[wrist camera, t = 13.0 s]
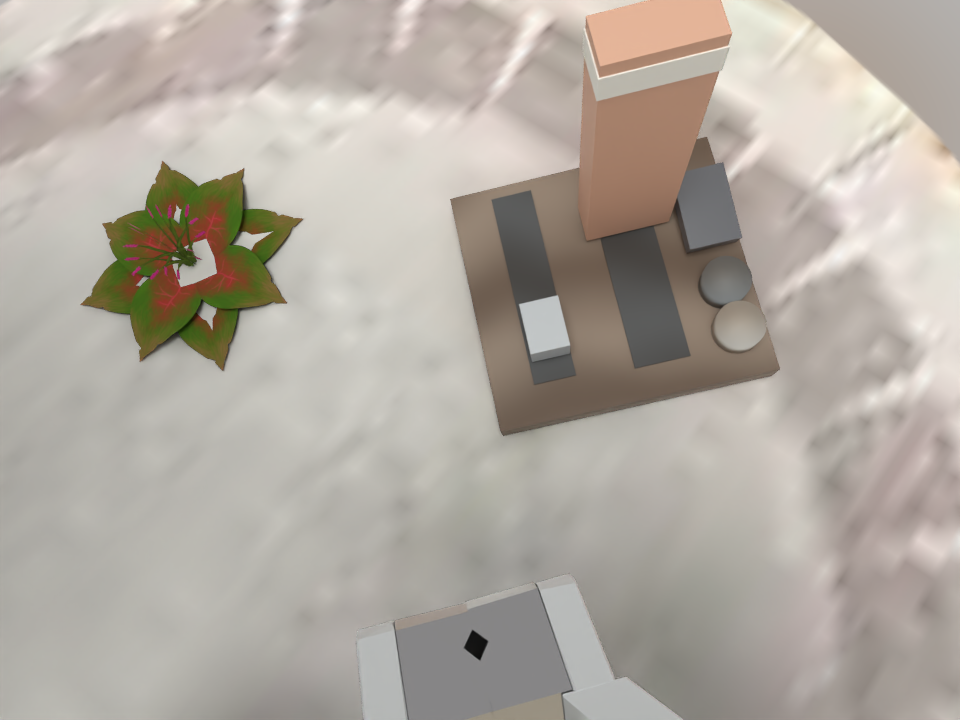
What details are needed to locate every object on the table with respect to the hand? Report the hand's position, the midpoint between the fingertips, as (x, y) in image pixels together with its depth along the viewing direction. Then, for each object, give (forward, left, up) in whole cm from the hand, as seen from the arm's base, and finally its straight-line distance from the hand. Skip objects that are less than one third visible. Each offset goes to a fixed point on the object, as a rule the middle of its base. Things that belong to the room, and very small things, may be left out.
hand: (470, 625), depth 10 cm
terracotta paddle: (-1, +17, -24) cm, 29 cm away
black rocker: (+3, +18, -23) cm, 29 cm away
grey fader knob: (-3, +10, -24) cm, 26 cm away
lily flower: (-22, +9, -26) cm, 35 cm away
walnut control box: (-1, +14, -25) cm, 29 cm away
